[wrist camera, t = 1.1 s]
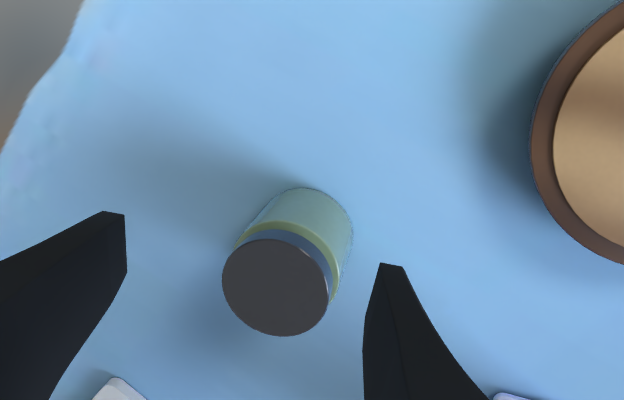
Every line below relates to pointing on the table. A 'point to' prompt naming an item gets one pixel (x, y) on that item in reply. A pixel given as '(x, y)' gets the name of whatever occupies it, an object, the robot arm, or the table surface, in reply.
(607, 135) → the stand
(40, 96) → the table surface
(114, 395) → the tablet stand
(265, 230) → the jar
